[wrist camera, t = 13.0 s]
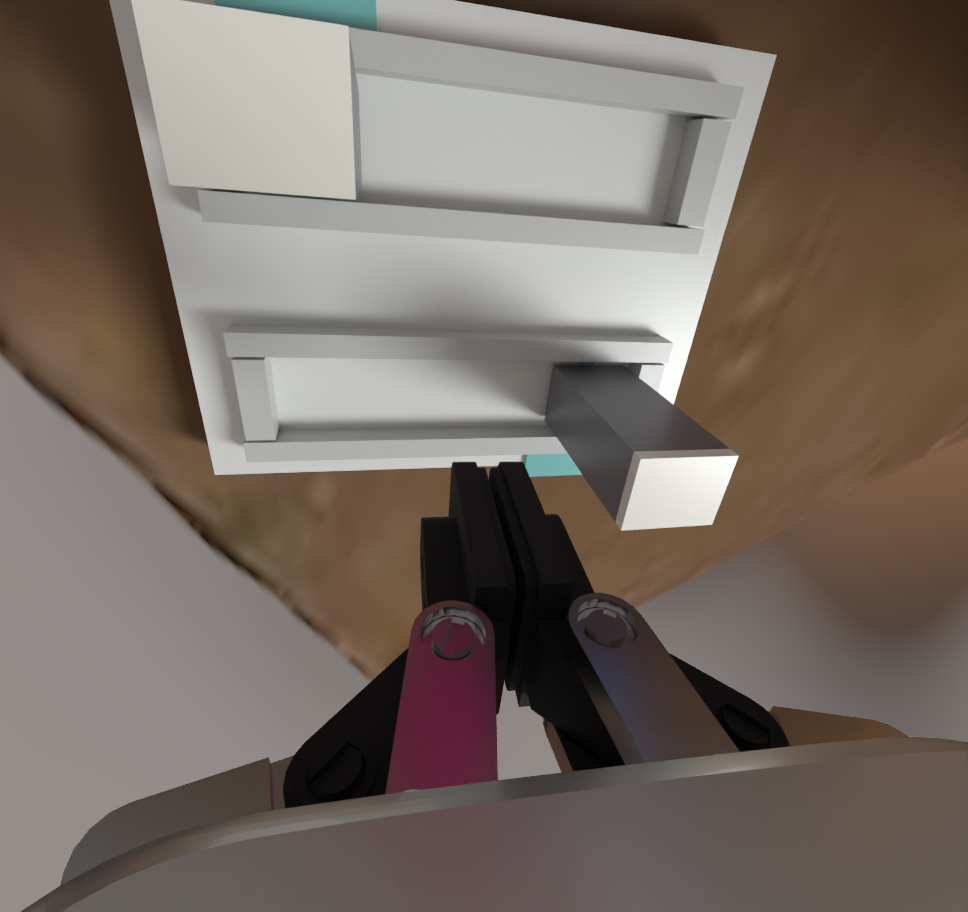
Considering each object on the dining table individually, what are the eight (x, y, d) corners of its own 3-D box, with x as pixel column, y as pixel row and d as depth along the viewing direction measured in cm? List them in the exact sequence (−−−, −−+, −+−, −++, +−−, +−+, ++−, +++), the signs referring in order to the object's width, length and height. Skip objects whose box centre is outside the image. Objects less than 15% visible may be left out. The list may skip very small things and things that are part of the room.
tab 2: (623, 365, 20) (738, 456, 14) (610, 418, 21) (712, 524, 15) (553, 364, 19) (640, 459, 13) (544, 419, 20) (620, 530, 14)
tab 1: (358, 90, 14) (347, 25, 8) (362, 186, 15) (355, 199, 9) (244, 76, 13) (129, -8, 7) (256, 177, 14) (168, 184, 8)
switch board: (741, 47, 17) (806, 27, 15) (635, 449, 25) (665, 481, 22) (125, -58, 13) (66, -112, 11) (229, 459, 21) (210, 500, 18)
